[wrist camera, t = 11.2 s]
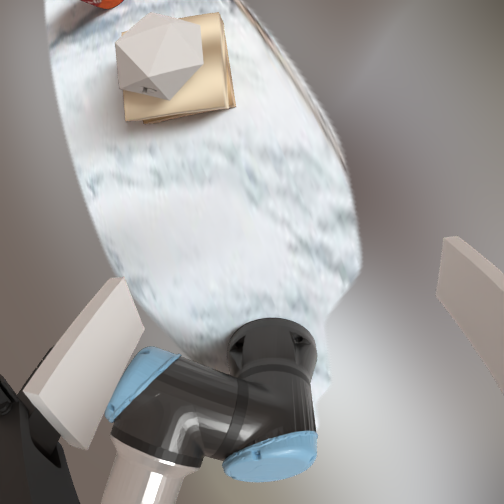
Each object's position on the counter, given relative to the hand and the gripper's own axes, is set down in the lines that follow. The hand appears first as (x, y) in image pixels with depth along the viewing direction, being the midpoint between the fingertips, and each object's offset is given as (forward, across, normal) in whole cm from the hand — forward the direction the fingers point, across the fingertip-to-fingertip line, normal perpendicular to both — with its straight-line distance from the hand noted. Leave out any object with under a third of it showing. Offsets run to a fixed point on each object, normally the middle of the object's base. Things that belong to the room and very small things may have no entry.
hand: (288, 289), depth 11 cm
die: (+21, +9, -15) cm, 27 cm away
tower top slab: (+25, +9, -14) cm, 30 cm away
